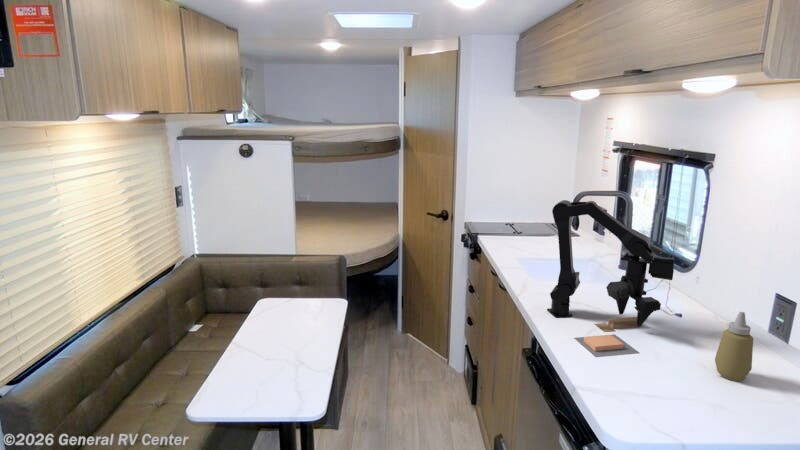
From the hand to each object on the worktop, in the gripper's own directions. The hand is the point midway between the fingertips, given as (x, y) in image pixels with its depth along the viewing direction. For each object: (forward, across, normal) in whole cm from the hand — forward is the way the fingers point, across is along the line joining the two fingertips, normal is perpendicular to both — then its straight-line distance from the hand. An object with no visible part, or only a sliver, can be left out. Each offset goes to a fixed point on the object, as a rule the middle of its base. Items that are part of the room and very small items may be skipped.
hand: (629, 320), depth 152 cm
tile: (+1, +11, -12) cm, 16 cm away
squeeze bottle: (+3, +31, +8) cm, 32 cm away
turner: (+3, 0, -4) cm, 5 cm away
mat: (+2, +11, -16) cm, 19 cm away
